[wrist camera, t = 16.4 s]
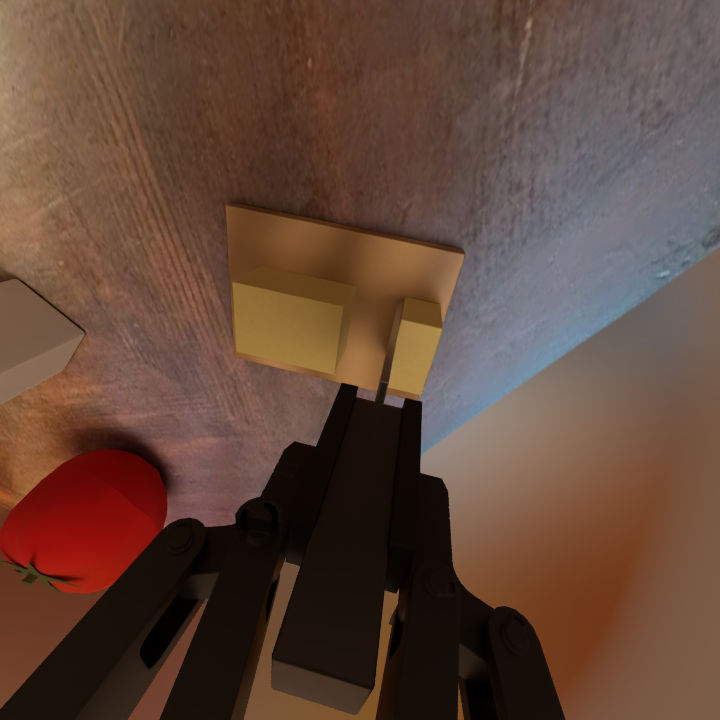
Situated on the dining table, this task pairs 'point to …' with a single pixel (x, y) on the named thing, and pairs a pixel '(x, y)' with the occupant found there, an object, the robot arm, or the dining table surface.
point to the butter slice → (415, 345)
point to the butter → (292, 318)
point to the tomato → (85, 521)
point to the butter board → (344, 278)
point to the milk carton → (31, 340)
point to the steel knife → (345, 563)
